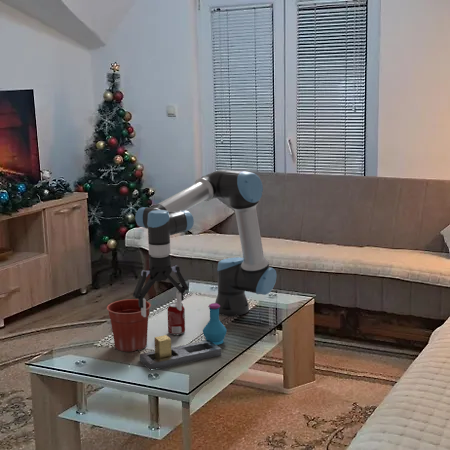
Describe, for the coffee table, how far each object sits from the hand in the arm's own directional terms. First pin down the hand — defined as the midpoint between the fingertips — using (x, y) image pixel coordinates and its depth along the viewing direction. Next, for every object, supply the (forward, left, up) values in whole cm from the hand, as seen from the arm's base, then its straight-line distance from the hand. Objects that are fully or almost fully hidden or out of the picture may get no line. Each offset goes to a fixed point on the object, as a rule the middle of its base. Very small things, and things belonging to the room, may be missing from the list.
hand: (161, 312), depth 250 cm
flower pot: (+5, -20, -19) cm, 28 cm away
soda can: (-16, -24, -19) cm, 34 cm away
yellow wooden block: (0, 0, -19) cm, 18 cm away
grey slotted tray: (-7, 0, -18) cm, 20 cm away
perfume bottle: (-25, -8, -19) cm, 32 cm away
